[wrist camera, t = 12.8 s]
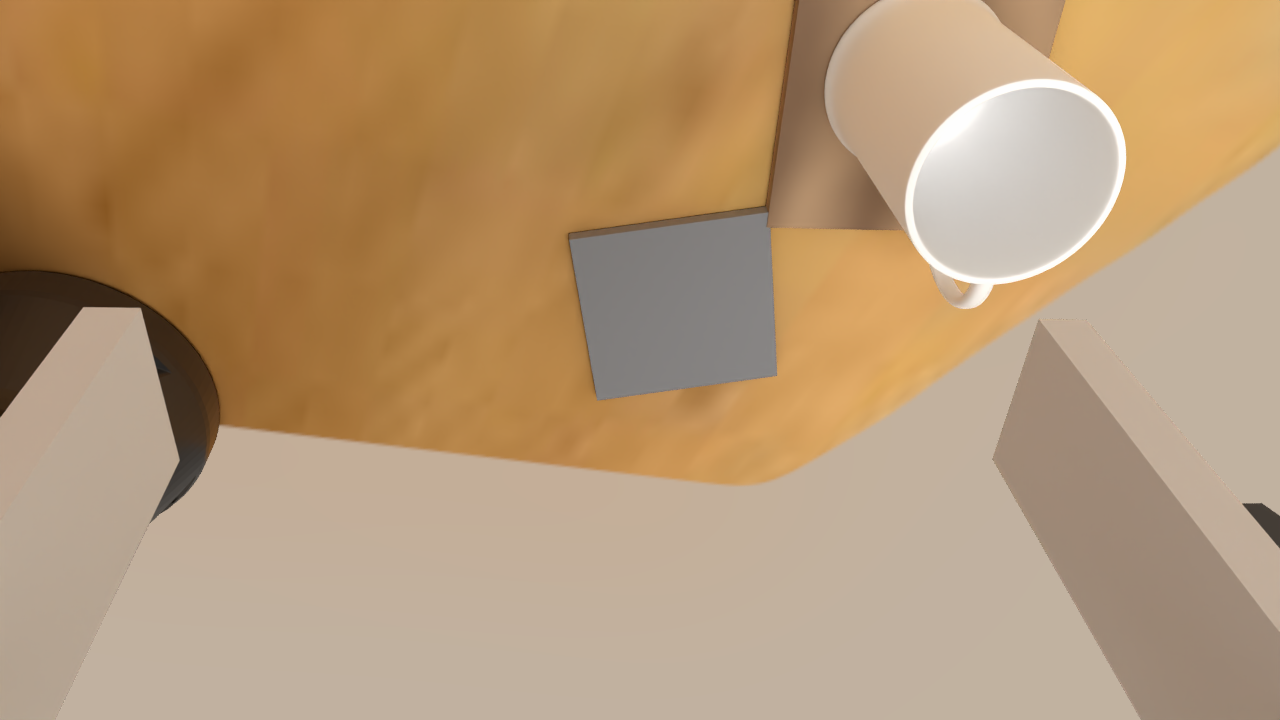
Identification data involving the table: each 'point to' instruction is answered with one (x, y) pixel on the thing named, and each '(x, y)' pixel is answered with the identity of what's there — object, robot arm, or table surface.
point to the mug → (973, 141)
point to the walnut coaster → (805, 142)
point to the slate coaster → (677, 302)
